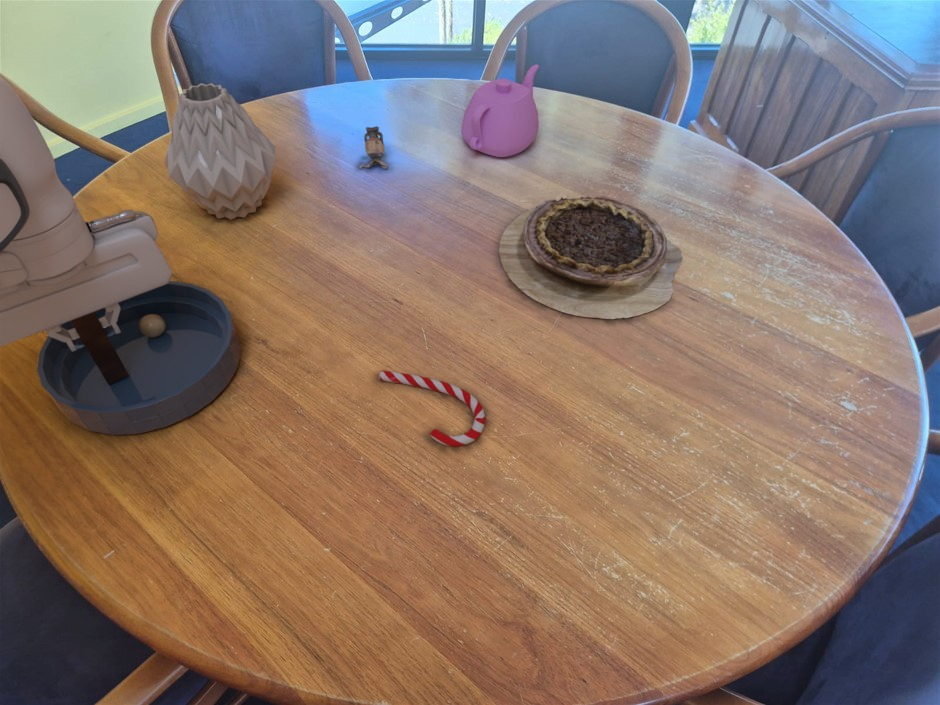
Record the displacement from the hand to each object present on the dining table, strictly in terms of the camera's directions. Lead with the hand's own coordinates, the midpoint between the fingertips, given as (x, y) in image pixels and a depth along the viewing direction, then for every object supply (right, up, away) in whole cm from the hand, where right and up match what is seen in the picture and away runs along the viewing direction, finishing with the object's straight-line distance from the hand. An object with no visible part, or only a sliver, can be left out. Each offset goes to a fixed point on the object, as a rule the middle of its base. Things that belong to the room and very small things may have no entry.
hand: (95, 339), depth 70 cm
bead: (+2, +2, +9) cm, 9 cm away
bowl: (+3, -3, +7) cm, 8 cm away
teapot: (+48, +39, +48) cm, 78 cm away
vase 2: (+25, +33, +41) cm, 58 cm away
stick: (0, -4, +4) cm, 6 cm away
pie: (+60, +13, +25) cm, 67 cm away
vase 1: (+4, +22, +31) cm, 38 cm away
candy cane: (+37, -8, +4) cm, 38 cm away
